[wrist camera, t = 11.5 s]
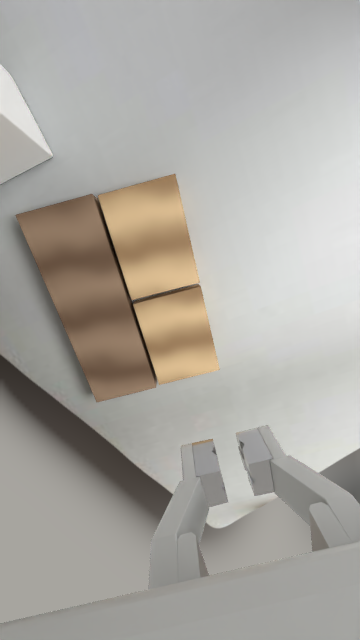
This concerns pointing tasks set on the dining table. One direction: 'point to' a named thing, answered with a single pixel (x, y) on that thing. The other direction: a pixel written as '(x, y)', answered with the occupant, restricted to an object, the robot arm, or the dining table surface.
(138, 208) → the plank
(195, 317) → the plank
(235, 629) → the robot arm
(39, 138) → the milk carton
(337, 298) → the dining table surface
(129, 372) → the base board
